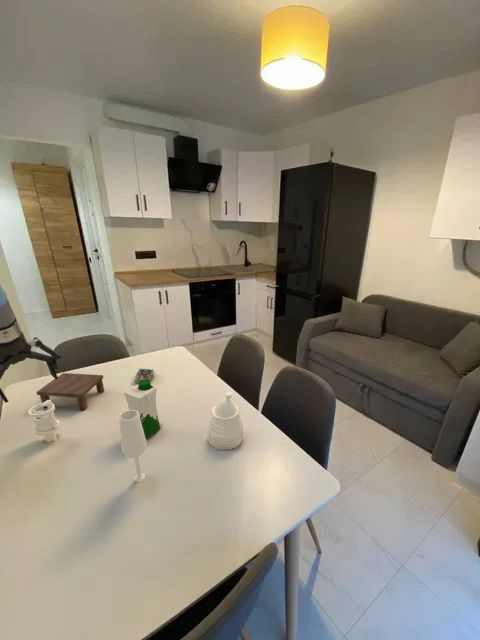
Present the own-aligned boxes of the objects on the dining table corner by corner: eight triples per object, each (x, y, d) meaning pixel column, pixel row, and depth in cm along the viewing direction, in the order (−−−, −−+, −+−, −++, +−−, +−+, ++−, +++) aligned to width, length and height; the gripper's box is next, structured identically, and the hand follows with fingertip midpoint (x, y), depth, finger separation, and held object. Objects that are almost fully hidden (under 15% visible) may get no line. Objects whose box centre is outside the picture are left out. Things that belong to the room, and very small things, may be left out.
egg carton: (150, 384, 139) (149, 377, 137) (134, 384, 138) (132, 377, 136) (155, 373, 148) (154, 366, 147) (139, 374, 147) (138, 366, 146)
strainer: (68, 436, 104) (58, 401, 98) (52, 450, 97) (40, 413, 91) (51, 433, 105) (40, 398, 99) (34, 446, 98) (21, 410, 92)
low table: (41, 408, 118) (36, 391, 115) (67, 388, 132) (63, 372, 129) (85, 411, 118) (81, 394, 114) (106, 390, 132) (102, 375, 129)
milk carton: (163, 428, 110) (158, 382, 102) (145, 442, 103) (138, 394, 95) (146, 421, 113) (140, 376, 106) (127, 434, 106) (119, 387, 98)
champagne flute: (138, 493, 84) (126, 426, 74) (123, 483, 87) (109, 417, 77) (156, 477, 89) (147, 412, 79) (141, 468, 92) (131, 405, 82)
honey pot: (222, 422, 115) (221, 383, 108) (249, 434, 109) (251, 393, 102) (200, 441, 104) (198, 399, 97) (229, 455, 99) (229, 411, 92)
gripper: (-53, 365, 67) (-14, 418, 80) (62, 324, 83) (78, 374, 97) (-65, 348, 69) (-25, 402, 83) (49, 312, 86) (66, 362, 100)
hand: (31, 387), depth 90 cm, fingers open, 13 cm apart
